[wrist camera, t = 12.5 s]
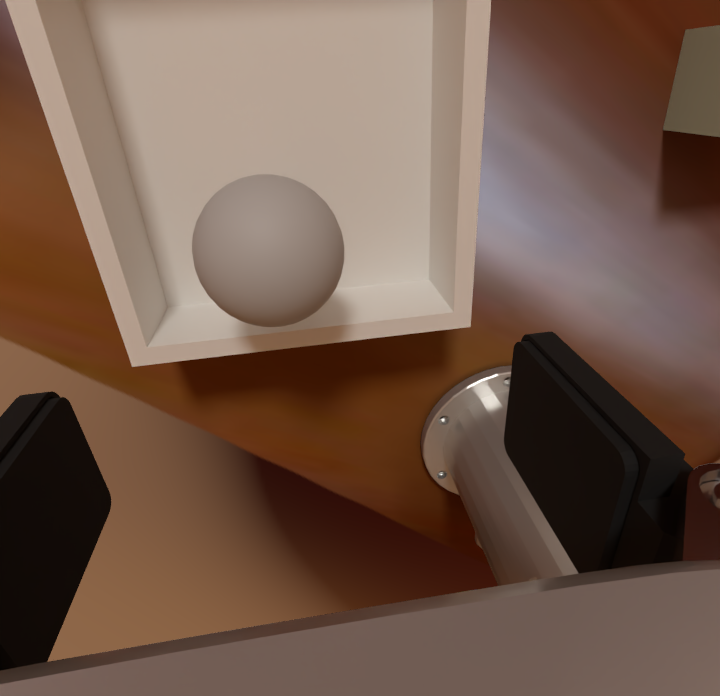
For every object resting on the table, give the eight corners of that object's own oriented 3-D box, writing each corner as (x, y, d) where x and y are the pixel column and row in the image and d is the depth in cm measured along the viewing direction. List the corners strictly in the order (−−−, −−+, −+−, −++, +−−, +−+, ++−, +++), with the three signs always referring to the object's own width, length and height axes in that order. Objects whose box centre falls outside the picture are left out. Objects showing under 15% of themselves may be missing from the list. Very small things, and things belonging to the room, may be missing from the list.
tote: (439, 286, 31) (470, 326, 26) (158, 317, 30) (132, 366, 24) (451, -190, 20) (509, -283, 15) (10, -183, 19) (-94, -285, 14)
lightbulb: (349, 214, 27) (386, 286, 18) (270, 280, 28) (266, 381, 19) (274, 122, 24) (272, 150, 15) (191, 201, 26) (140, 273, 16)
